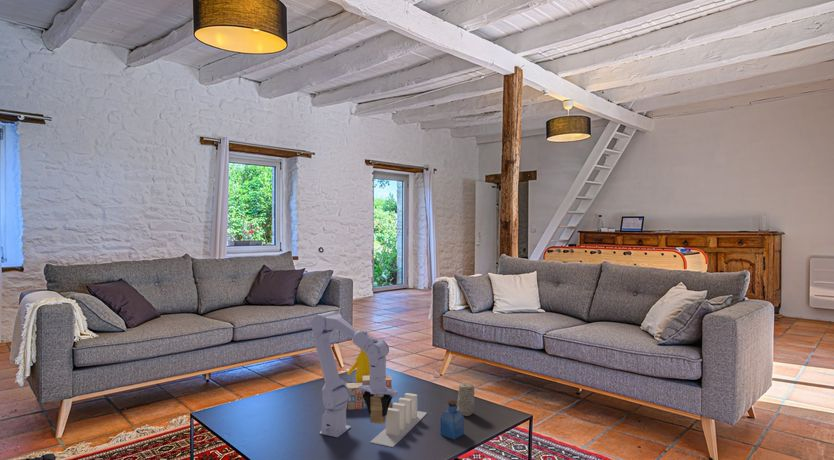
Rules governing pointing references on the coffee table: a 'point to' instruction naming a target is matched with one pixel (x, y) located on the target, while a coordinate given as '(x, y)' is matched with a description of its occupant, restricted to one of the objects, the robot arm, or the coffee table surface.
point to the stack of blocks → (357, 397)
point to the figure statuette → (361, 367)
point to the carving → (466, 399)
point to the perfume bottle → (452, 422)
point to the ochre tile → (376, 410)
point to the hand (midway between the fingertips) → (377, 414)
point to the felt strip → (393, 440)
